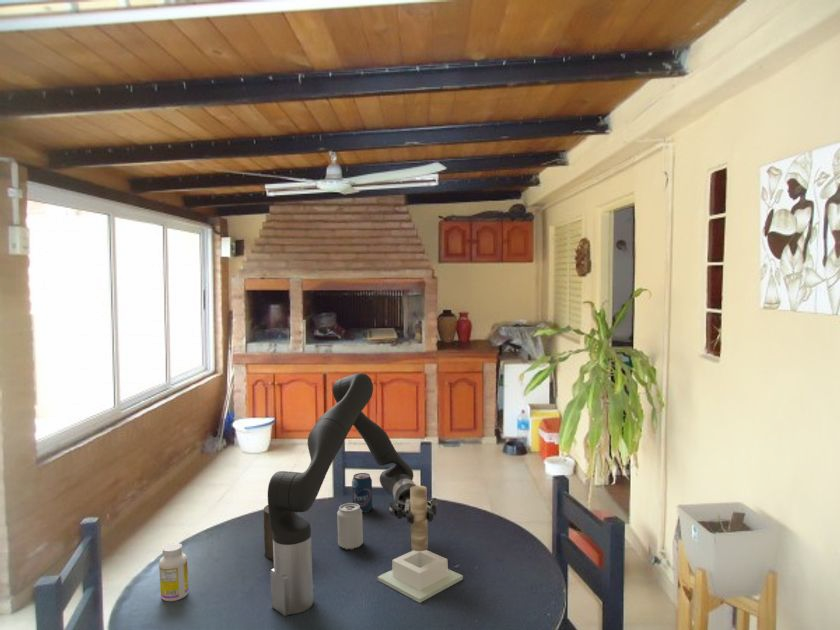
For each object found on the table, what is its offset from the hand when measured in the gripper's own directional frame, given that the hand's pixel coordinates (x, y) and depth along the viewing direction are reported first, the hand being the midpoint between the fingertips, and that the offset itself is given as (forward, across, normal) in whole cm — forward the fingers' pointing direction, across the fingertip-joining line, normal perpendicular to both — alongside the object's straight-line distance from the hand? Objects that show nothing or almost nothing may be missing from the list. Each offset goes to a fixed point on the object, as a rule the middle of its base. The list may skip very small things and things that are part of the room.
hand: (421, 519), depth 156 cm
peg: (-3, 0, +9) cm, 9 cm away
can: (-28, -16, +18) cm, 37 cm away
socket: (-3, 0, +18) cm, 18 cm away
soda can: (-55, -8, +18) cm, 58 cm away
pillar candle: (-29, -36, +18) cm, 49 cm away
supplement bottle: (-12, -63, +18) cm, 66 cm away
